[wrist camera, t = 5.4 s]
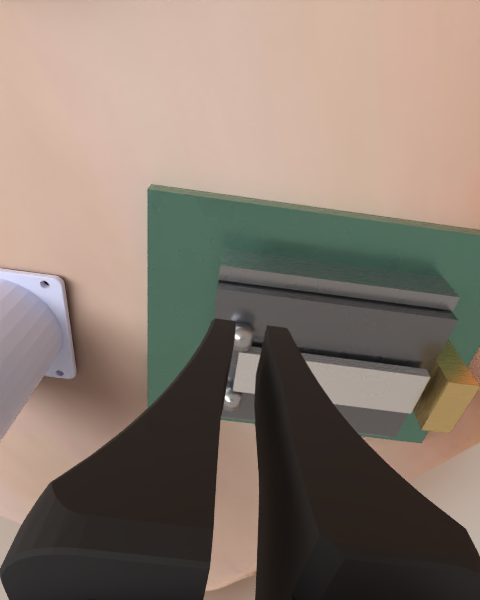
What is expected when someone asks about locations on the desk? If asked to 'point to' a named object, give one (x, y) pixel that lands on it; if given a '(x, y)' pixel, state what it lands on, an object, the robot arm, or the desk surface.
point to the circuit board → (315, 296)
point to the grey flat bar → (349, 381)
